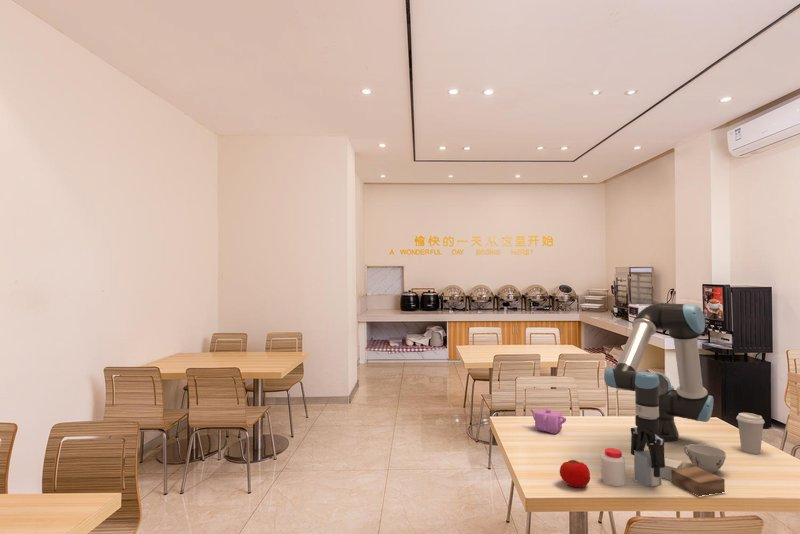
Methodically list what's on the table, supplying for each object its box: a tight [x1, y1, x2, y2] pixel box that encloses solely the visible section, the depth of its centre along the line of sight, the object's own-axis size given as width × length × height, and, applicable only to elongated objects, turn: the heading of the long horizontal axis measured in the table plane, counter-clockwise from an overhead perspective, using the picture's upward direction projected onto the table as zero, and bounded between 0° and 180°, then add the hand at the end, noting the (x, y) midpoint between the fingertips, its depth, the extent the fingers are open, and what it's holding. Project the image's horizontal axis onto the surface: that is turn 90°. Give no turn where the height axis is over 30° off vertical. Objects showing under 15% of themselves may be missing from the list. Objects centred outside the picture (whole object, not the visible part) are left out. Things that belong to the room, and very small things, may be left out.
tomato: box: [559, 459, 591, 488], centre depth 161 cm, size 9×10×8 cm
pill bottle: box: [601, 447, 626, 487], centre depth 164 cm, size 8×8×11 cm
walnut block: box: [671, 465, 726, 497], centre depth 159 cm, size 11×11×5 cm
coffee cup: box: [736, 412, 766, 455], centre depth 193 cm, size 10×10×15 cm
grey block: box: [661, 457, 684, 481], centre depth 170 cm, size 8×8×5 cm
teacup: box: [683, 443, 727, 474], centre depth 175 cm, size 15×12×8 cm
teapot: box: [528, 408, 567, 435], centre depth 219 cm, size 18×14×10 cm
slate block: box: [633, 449, 662, 487], centre depth 164 cm, size 6×6×10 cm
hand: (647, 481), depth 164 cm, fingers closed on slate block, 6 cm apart
